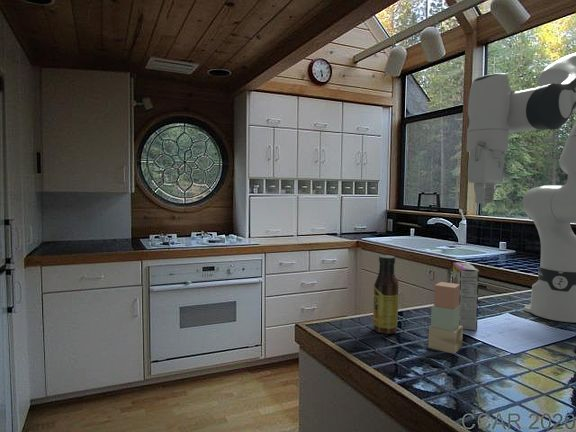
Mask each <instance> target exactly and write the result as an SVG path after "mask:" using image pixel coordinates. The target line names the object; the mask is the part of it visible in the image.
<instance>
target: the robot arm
mask: <svg viewBox="0 0 576 432" xmlns="http://www.w3.org/2000/svg"><path fill="white" fill-rule="evenodd" d="M572 113H576V52H574V53H570V54H568V55H565V56H563V57H560V58H559V59H557V60H556V61H554V62H552V63H550V64H549V65H548V66H546V67H545V68H544V69H543V70H542V71H541V73H540V74H539V76H538V80H537V87H533V88H528V89H524V90H517V91H516V90H514V89H513V88H512V87H511V86H510V81H509V75H508V74H507V73H505V72H495V73H491V74H486V75H482V76H479V77H476V78H475V79H474V80H473V81H472V82H471V86H470V89H469V94H468V105H467V115H468V119H469V124H468V127H467V131H466V152H467V153H469V155H468V167H467V181H468V183H470V184H473V190H474V191H473V192H474V194H475V199H474V200H475V201H474V202H475V203H476V204H485V203H488V204H489V203H493V202H494V197H495V196H494V195H495V193H496V185H501V183H502V180H503V174H504V167H505V160H506V159H505V157H506V156H505V155H506V154H508V153H509V134H514V133H524V132H531V131H532V132H533V131H539V130H540V131H545V130H546V131H549V130H550V131H551V130H557V129H560V128H561V127H563V126H564V125H565V123H567V121H568V120H569V119H570V117H571V115H572ZM558 165H559V167H560V169H561V170H562V172H564V173H565V174H566V175H567V181H566V183H565V184H552V185H551V184H546V185H545V184H544V185H541V186H536V187H531V188H530V189H528V190H527V191H526V192H525V194H524V196H523V197H522V209H523V212H524V213H525V215H526V216H528V217H529V218H530V219H531V220H532V221H533V223H534V225H535V228H536V230H537V232H538V236H539V241H540V264H539V265H540V266H539V267H538V271H537V275H538V276H537V278H538V280H537V281H536V282H534V283H533V284H532V286H531V295H530V303H529V304H527V305H525V306H524V307H523V311H524V312H527V313H531V314H533V315H535V316H537V317H540V318H543V319H547V320H552V321H557V322H565V323H576V234H575V233H574V231H573V229H572V226H571V224H576V121H575V122H574V124H573V126H572V127H571V130H570V132H569V133H568V137H567V139H566V141H565V144H564V147H563V150H562V151H561V154H560V156H559V160H558Z"/></svg>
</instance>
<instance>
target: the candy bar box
mask: <svg viewBox="0 0 576 432" xmlns="http://www.w3.org/2000/svg"><path fill="white" fill-rule="evenodd" d="M479 275H480V270H479V269H478V268H476V267H475V266H474V265H473V264H472V263H471V262H458V261H456V262H452V283H453V284H460V300H459V305H460V320H459V326H463V331H476V330H477V331H478V318H479V315H478V313H479V312H478V311H479V310H478V309H479V283H480V282H479Z"/></svg>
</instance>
